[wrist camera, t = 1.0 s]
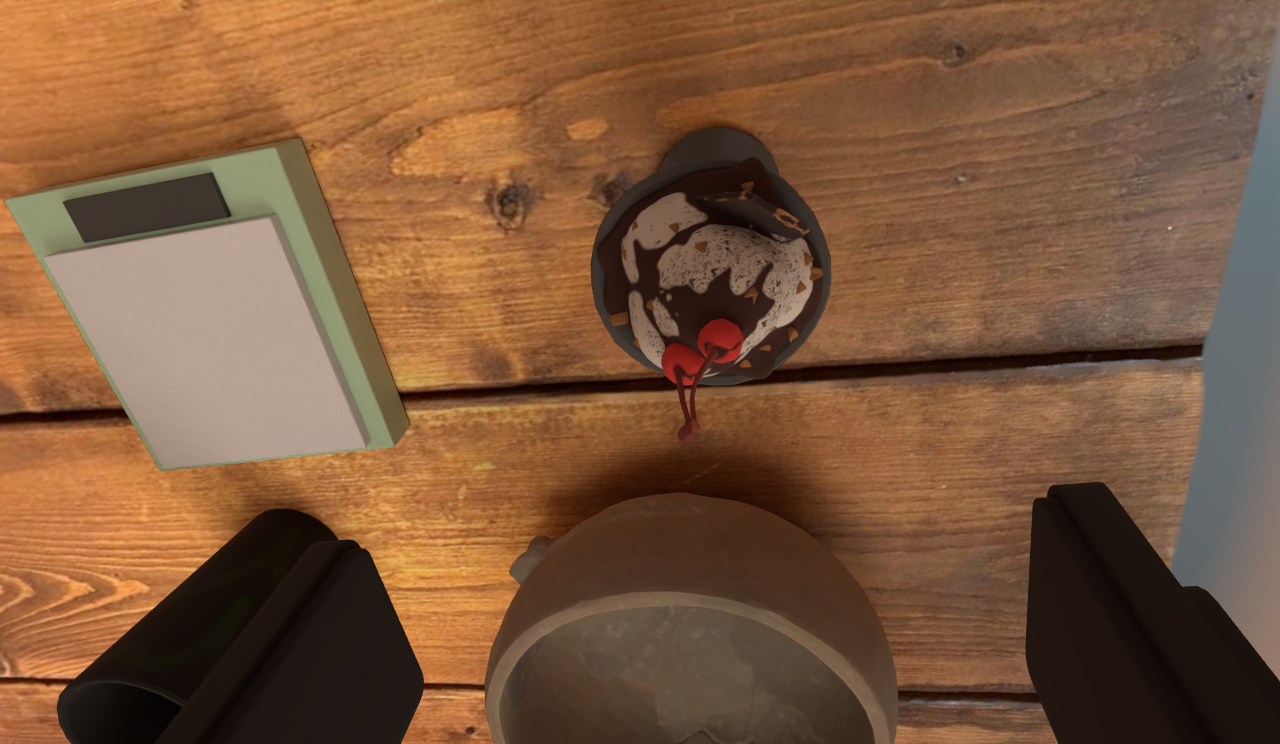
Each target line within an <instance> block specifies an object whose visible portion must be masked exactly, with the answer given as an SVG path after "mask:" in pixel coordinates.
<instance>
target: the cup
mask: <svg viewBox="0 0 1280 744" xmlns="http://www.w3.org/2000/svg"><path fill="white" fill-rule="evenodd" d="M337 540H338V539H337V538H336V537H335V535H334V534H333V533H332V532H331V530H330V529H328V528H327V527H326V526H325V525H324V524H323V523H321V522H320V521H318V520H316V519H315V518H313V517H311V516H309V515H307V514H304V513H302V512H299V511H294V510H289V509H273V510H269V511H265V512H263V513H261V514H260V515H258V516H257V517H255V518H254V519H253V520H252V521H251V522H250V523H249V524H248V525H246V526H245V527H244V528H243V529H242V530H241V531H240V532H239V533H238V534H236V535H235V536H234V537H233V538H232V539H231V540H230V541H229V542H227V543H226V544H225V545H224V546H223V547H222V548H221V549H220V550H219V551H217V552H216V553H215V554H214V555H213V556H212V557H211V558H210V559H208V560H207V561H206V562H205V563H204V564H203V565H202V566H201V567H199V568H198V569H197V570H196V571H195V572H194V573H193V574H192V575H191V576H189V577H188V578H187V579H186V580H185V581H184V582H183V583H182V584H180V585H179V586H178V587H177V588H176V589H175V590H174V591H173V592H171V593H170V594H169V595H168V596H167V597H166V598H165V599H164V600H163V601H161V602H160V603H159V604H158V605H157V606H156V607H155V608H154V609H152V610H151V611H150V612H149V613H148V614H147V615H146V616H145V617H144V618H142V619H141V620H140V621H139V622H138V623H137V624H136V625H135V626H133V627H132V628H131V629H130V630H129V631H128V632H127V633H126V634H124V635H123V636H122V637H121V638H120V639H119V640H118V641H117V642H116V643H114V644H113V645H112V646H111V647H110V648H109V649H108V650H107V651H105V652H104V653H103V654H102V655H101V656H100V657H99V658H98V659H96V660H95V661H94V662H93V663H92V664H91V665H90V666H89V667H88V668H86V669H85V670H84V671H83V672H82V673H81V674H80V675H79V676H77V677H76V678H75V679H74V680H73V681H72V682H71V683H70V684H68V685H67V687H66V688H65V689H64V690H63V691H62V693H61V694H60V695H59V700H58V704H57V713H58V719H59V724H60V726H61V728H62V730H63V732H64V734H65V736H66V738H67V739H68V740H69V741H70V743H71V744H154V743H155V742H156V741H157V739H158V738H159V737H160V735H161V734H162V733H163V732H164V730H165V729H166V728H167V726H168V725H169V724H170V723H171V721H172V720H173V719H174V718H175V716H176V715H177V714H178V712H179V711H180V710H181V709H182V707H183V706H184V705H185V704H186V702H187V701H188V700H189V698H190V697H191V696H192V695H193V693H194V692H195V691H196V690H197V688H198V687H199V686H200V684H201V683H202V682H203V681H204V679H205V678H206V677H207V676H208V674H209V673H210V672H211V670H212V669H213V668H214V667H215V665H216V664H217V663H218V661H219V660H220V659H221V658H222V656H223V655H224V654H225V653H226V651H227V650H228V649H229V647H230V646H231V645H232V644H233V642H234V641H235V640H236V639H237V637H238V636H239V635H240V633H241V632H242V631H243V630H244V628H245V627H246V626H247V625H248V623H249V622H250V621H251V619H252V618H253V617H254V616H255V614H256V613H257V612H258V611H259V609H260V608H261V607H262V605H263V604H264V603H265V602H266V600H267V599H268V598H269V597H270V595H271V594H272V593H273V591H274V590H275V589H276V588H277V586H278V585H279V584H280V582H281V581H282V580H283V579H284V577H285V576H286V575H287V574H288V572H289V571H290V570H291V568H292V567H293V566H294V565H295V563H296V562H297V561H298V560H299V558H300V557H301V556H302V554H303V553H304V552H305V551H306V549H307V548H308V547H309V546H310V545H312V544H313V543H316V542H324V541H337Z"/></svg>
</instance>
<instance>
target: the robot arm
mask: <svg viewBox="0 0 1280 744" xmlns="http://www.w3.org/2000/svg"><path fill="white" fill-rule="evenodd" d="M1025 650H1026V661H1027V666H1028V671H1029V674H1030V677H1031V680H1032V683H1033V685H1034V687H1035V690H1036V692H1037V695H1038V697H1039V699H1040V702H1041V704H1042V706H1043V709H1044V711H1045V713H1046V716H1047V718H1048V721H1049V723H1050V725H1051V728H1052V730H1053V732H1054V735H1055V737H1056V739H1057V742H1058V744H1280V681H1279V680H1278V678H1277V677H1276V676H1275V675H1274V673H1273V672H1272V671H1271V670H1270V668H1269V667H1268V666H1267V664H1266V663H1265V662H1264V660H1263V659H1262V658H1261V657H1260V655H1259V654H1258V653H1257V652H1256V650H1255V649H1254V648H1253V647H1252V645H1251V644H1250V643H1249V641H1248V640H1247V639H1246V638H1245V636H1244V635H1243V634H1242V633H1241V631H1240V630H1239V629H1238V627H1237V626H1236V625H1235V624H1234V622H1233V621H1232V620H1231V618H1230V617H1229V616H1228V615H1227V613H1226V612H1225V611H1224V610H1223V608H1222V607H1221V606H1220V604H1219V603H1218V602H1217V601H1216V600H1215V599H1214V598H1213V597H1212V596H1211V595H1210V594H1209V593H1208V592H1207V591H1206V590H1204V589H1202V588H1200V587H1198V586H1188V587H1182V586H1181V585H1180V584H1179V582H1178V581H1177V580H1176V578H1175V577H1174V576H1173V574H1172V573H1171V572H1170V570H1169V569H1168V568H1167V566H1166V565H1165V563H1164V562H1163V561H1162V559H1161V558H1160V557H1159V555H1158V554H1157V553H1156V551H1155V550H1154V549H1153V547H1152V546H1151V545H1150V543H1149V542H1148V541H1147V539H1146V538H1145V537H1144V535H1143V534H1142V533H1141V531H1140V530H1139V529H1138V527H1137V526H1136V524H1135V523H1134V522H1133V520H1132V519H1131V518H1130V516H1129V515H1128V514H1127V512H1126V511H1125V510H1124V508H1123V507H1122V506H1121V504H1120V503H1119V502H1118V500H1117V499H1116V498H1115V496H1114V495H1113V494H1112V492H1111V491H1110V490H1109V488H1108V487H1107V486H1106V485H1105V484H1104V483H1101V482H1090V483H1077V484H1064V485H1053V486H1051V487H1050V488H1049V490H1048V493H1047V497H1046V498H1036V499H1035V500H1034V502H1033V509H1032V529H1031V549H1030V568H1029V588H1028V608H1027V628H1026V648H1025ZM423 689H424V678H423V674H422V671H421V668H420V666H419V664H418V662H417V659H416V657H415V655H414V652H413V650H412V648H411V646H410V643H409V641H408V639H407V637H406V634H405V632H404V630H403V627H402V625H401V623H400V621H399V618H398V616H397V614H396V611H395V609H394V607H393V605H392V602H391V600H390V598H389V596H388V593H387V591H386V589H385V586H384V584H383V582H382V580H381V577H380V575H379V573H378V571H377V568H376V566H375V564H374V561H373V559H372V557H371V555H370V553H369V552H368V551H367V550H366V549H363V548H361V547H360V546H359V544H358V543H357V542H355V541H354V540H337V541H324V542H316V543H313V544H312V545H310V546H309V547H308V548H307V549H306V551H305V552H304V553H303V554H302V556H301V557H300V558H299V560H298V561H297V562H296V563H295V565H294V566H293V567H292V568H291V570H290V571H289V572H288V574H287V575H286V576H285V577H284V579H283V580H282V581H281V582H280V584H279V585H278V586H277V588H276V589H275V590H274V591H273V593H272V594H271V595H270V597H269V598H268V599H267V600H266V602H265V603H264V604H263V605H262V607H261V608H260V609H259V611H258V612H257V613H256V614H255V616H254V617H253V618H252V619H251V621H250V622H249V623H248V625H247V626H246V627H245V628H244V630H243V631H242V632H241V633H240V635H239V636H238V637H237V639H236V640H235V641H234V642H233V644H232V645H231V646H230V647H229V649H228V650H227V651H226V653H225V654H224V655H223V656H222V658H221V659H220V660H219V661H218V663H217V664H216V665H215V667H214V668H213V669H212V670H211V672H210V673H209V674H208V676H207V677H206V678H205V679H204V681H203V682H202V683H201V684H200V686H199V687H198V688H197V690H196V691H195V692H194V693H193V695H192V696H191V697H190V698H189V700H188V701H187V702H186V704H185V705H184V706H183V707H182V709H181V710H180V711H179V712H178V714H177V715H176V716H175V718H174V719H173V720H172V721H171V723H170V724H169V725H168V726H167V728H166V729H165V730H164V732H163V733H162V734H161V735H160V737H159V738H158V739H157V741H156V742H155V743H154V744H401V742H402V740H403V738H404V735H405V733H406V731H407V729H408V727H409V725H410V722H411V720H412V718H413V716H414V714H415V711H416V709H417V707H418V705H419V703H420V700H421V697H422V694H423Z"/></svg>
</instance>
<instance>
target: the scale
mask: <svg viewBox="0 0 1280 744" xmlns="http://www.w3.org/2000/svg"><path fill="white" fill-rule="evenodd" d="M4 202H5V204H6V205H7V207H8V209H9V210H10V212H11V214H12V216H13V217H14V219H15V221H16V223H17V224H18V226H19V228H20V230H21V231H22V233H23V235H24V236H25V238H26V240H27V242H28V243H29V245H30V247H31V249H32V250H33V252H34V254H35V256H36V257H37V259H38V261H39V262H40V264H41V266H42V268H43V269H44V271H45V273H46V275H47V276H48V278H49V280H50V282H51V283H52V285H53V287H54V288H55V290H56V292H57V294H58V295H59V297H60V299H61V301H62V302H63V304H64V306H65V308H66V309H67V311H68V313H69V314H70V316H71V318H72V320H73V321H74V323H75V325H76V327H77V328H78V330H79V332H80V334H81V335H82V337H83V339H84V340H85V342H86V344H87V346H88V347H89V349H90V351H91V353H92V354H93V356H94V358H95V360H96V361H97V363H98V365H99V366H100V368H101V370H102V372H103V373H104V375H105V377H106V379H107V380H108V382H109V384H110V386H111V387H112V389H113V391H114V392H115V394H116V396H117V398H118V399H119V401H120V403H121V405H122V406H123V408H124V410H125V412H126V413H127V415H128V417H129V418H130V420H131V422H132V424H133V425H134V427H135V429H136V431H137V432H138V434H139V436H140V438H141V439H142V441H143V443H144V444H145V446H146V448H147V450H148V451H149V453H150V455H151V457H152V458H153V460H154V462H155V464H156V465H157V467H158V469H159V470H160V471H169V470H179V469H189V468H198V467H208V466H217V465H227V464H237V463H246V462H256V461H266V460H275V459H285V458H295V457H304V456H314V455H324V454H333V453H343V452H352V451H362V450H372V449H381V448H391V447H395V446H396V444H397V443H398V442H399V440H400V439H401V438H402V436H403V435H404V433H405V432H406V431H407V429H408V428H409V427H410V423H409V420H408V418H407V415H406V412H405V410H404V407H403V404H402V402H401V399H400V397H399V394H398V391H397V389H396V386H395V384H394V381H393V378H392V376H391V373H390V370H389V368H388V365H387V363H386V360H385V357H384V355H383V352H382V350H381V347H380V344H379V342H378V339H377V337H376V334H375V331H374V329H373V326H372V323H371V321H370V318H369V316H368V313H367V310H366V308H365V305H364V303H363V300H362V297H361V295H360V292H359V289H358V287H357V284H356V282H355V279H354V276H353V274H352V271H351V269H350V266H349V263H348V261H347V258H346V256H345V253H344V250H343V248H342V245H341V242H340V240H339V237H338V235H337V232H336V229H335V227H334V224H333V222H332V219H331V216H330V214H329V211H328V208H327V206H326V203H325V201H324V198H323V195H322V193H321V190H320V188H319V185H318V182H317V180H316V177H315V175H314V172H313V169H312V167H311V164H310V161H309V159H308V156H307V154H306V151H305V148H304V146H303V143H302V141H301V139H300V138H294V139H289V140H284V141H279V142H274V143H269V144H263V145H258V146H253V147H248V148H243V149H238V150H233V151H228V152H223V153H218V154H213V155H207V156H202V157H197V158H192V159H187V160H182V161H177V162H172V163H167V164H162V165H157V166H151V167H146V168H141V169H136V170H131V171H126V172H121V173H116V174H111V175H106V176H101V177H95V178H90V179H85V180H80V181H75V182H70V183H65V184H60V185H55V186H50V187H45V188H40V189H37V190H33V191H30V192H26V193H23V194H20V195H16V196H13V197H9V198H6V199H5V200H4Z"/></svg>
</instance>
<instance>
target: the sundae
mask: <svg viewBox="0 0 1280 744" xmlns="http://www.w3.org/2000/svg"><path fill="white" fill-rule="evenodd" d="M591 283H592V290H593V295H594V301H595V306H596V308H597V311H598V313H599V315H600V317H601V319H602V322H603V324H604V326H605V327H606V329H607V330H608V332H609V334H610V335H611V337H612V338H613V340H614V341H615V343H616V344H617V345H619V346H620V347H621V348H622V349H623V350H624V351H625V352H626V353H628V354H629V355H630V356H631V357H632V358H634V359H635V360H637V361H638V362H640V363H641V364H643V365H644V366H646V367H649V368H651V369H653V370H655V371H658V372H660V373H663V374H665V375H666V376H667V378H668V379H670V380H671V381H672V382H674V383H676V384H677V389H678V393H679V398H680V403H681V406H682V410H683V413H684V415H685V420H686V422H685V425H684V426H683V427H682V428H681V429H680V430H679V432H678V438H679V439H680V440H681V441H682V442H683V443H688V442H689V441H690V440H691V439H692V437H693V436H694V435H695V434H696V433H697V431H698V430H699V429H700V425H699V424H698V422H697V418H696V411H695V399H694V397H695V391H696V387H697V386H698V384H705V385H735V384H738V383H742V382H745V381H749V380H752V379H763V378H766V377H767V376H769V375H770V374H771V373H772V371H773V370H775V369H776V368H777V367H779V366H780V365H781V364H782V363H784V362H785V361H786V360H787V359H788V358H790V357H791V356H792V355H793V354H794V353H795V352H796V351H797V350H798V349H799V348H800V347H801V346H802V345H803V344H804V343H805V342H806V340H807V339H808V337H809V336H810V334H811V333H812V331H813V330H814V328H815V327H816V325H817V323H818V321H819V319H820V317H821V315H822V313H823V311H824V309H825V306H826V303H827V300H828V297H829V294H830V284H831V258H830V253H829V250H828V246H827V243H826V240H825V237H824V234H823V232H822V230H821V228H820V226H819V223H818V221H817V219H816V217H815V215H814V213H813V211H812V210H811V209H810V208H809V206H808V205H807V204H806V203H805V202H804V200H803V199H802V198H801V197H800V195H799V194H798V193H797V192H796V191H795V190H794V189H793V188H792V187H791V186H790V185H789V184H788V183H787V182H786V181H785V180H784V179H783V178H782V177H780V176H779V173H778V170H777V167H776V165H775V163H774V160H773V158H772V156H771V154H770V153H769V152H768V151H767V150H766V149H765V147H764V146H763V145H762V144H761V143H759V142H758V141H757V140H756V139H755V138H754V137H752V136H750V135H748V134H746V133H744V132H741V131H738V130H735V129H732V128H722V127H715V128H707V129H702V130H699V131H697V132H694V133H692V134H690V135H688V136H686V137H685V138H683V139H681V140H680V141H679V142H678V143H677V144H676V145H675V146H674V147H673V148H672V149H671V150H670V151H669V152H668V154H667V155H666V156H665V158H664V159H663V161H662V164H661V166H660V169H659V171H658V172H657V173H655V174H653V175H651V176H650V177H648V178H646V179H644V180H642V181H640V182H639V183H637V184H635V185H634V186H633V187H632V188H631V189H630V190H629V191H627V192H626V193H625V194H624V195H623V196H622V197H621V198H620V199H619V200H618V201H617V202H616V203H615V204H614V205H613V207H612V208H611V209H610V210H609V211H608V212H607V214H606V216H605V218H604V219H603V221H602V223H601V225H600V227H599V229H598V232H597V236H596V239H595V242H594V245H593V252H592V258H591ZM683 385H692V387H691V393H690V411H691V418H690V415H689V412H688V409H687V405H686V401H685V393H684V386H683Z"/></svg>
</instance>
